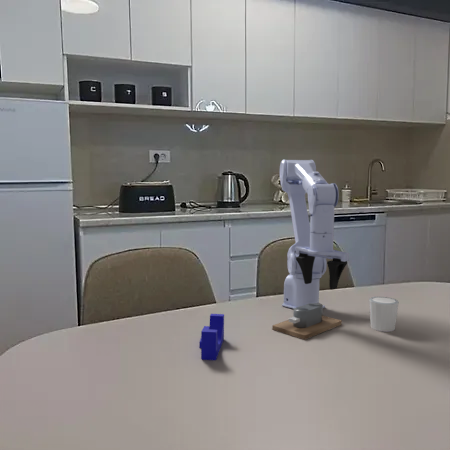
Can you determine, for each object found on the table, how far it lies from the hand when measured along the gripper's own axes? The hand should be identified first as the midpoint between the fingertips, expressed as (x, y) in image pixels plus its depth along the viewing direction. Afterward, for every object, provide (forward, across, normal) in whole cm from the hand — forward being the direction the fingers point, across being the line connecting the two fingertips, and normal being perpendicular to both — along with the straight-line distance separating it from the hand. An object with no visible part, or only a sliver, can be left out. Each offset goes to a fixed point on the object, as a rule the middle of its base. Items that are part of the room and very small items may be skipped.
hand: (320, 286), depth 116 cm
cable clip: (+10, -6, -32) cm, 34 cm away
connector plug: (+8, 0, -5) cm, 10 cm away
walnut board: (+9, 0, -5) cm, 11 cm away
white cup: (+10, +13, +8) cm, 18 cm away
